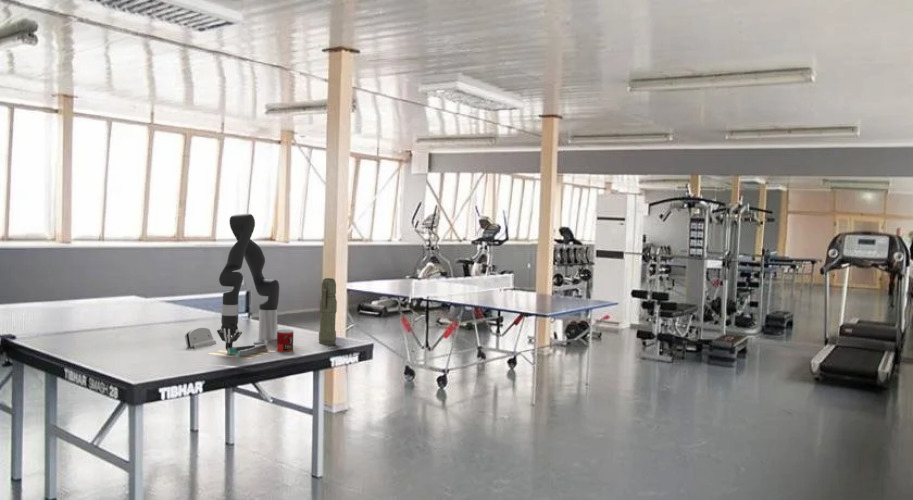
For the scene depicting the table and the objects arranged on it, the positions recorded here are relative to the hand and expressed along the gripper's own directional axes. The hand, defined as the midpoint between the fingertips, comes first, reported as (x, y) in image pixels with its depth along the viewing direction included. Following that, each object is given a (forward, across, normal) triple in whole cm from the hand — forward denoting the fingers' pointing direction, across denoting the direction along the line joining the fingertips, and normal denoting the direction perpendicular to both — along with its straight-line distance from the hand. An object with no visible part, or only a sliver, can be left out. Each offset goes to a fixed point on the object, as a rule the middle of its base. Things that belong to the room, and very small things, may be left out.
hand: (228, 350), depth 322 cm
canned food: (+3, -18, -19) cm, 27 cm away
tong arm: (+1, -6, -5) cm, 8 cm away
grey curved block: (+3, +29, -15) cm, 33 cm away
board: (+3, -4, -5) cm, 7 cm away
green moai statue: (+2, -24, -49) cm, 55 cm away
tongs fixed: (+1, -10, -5) cm, 12 cm away
